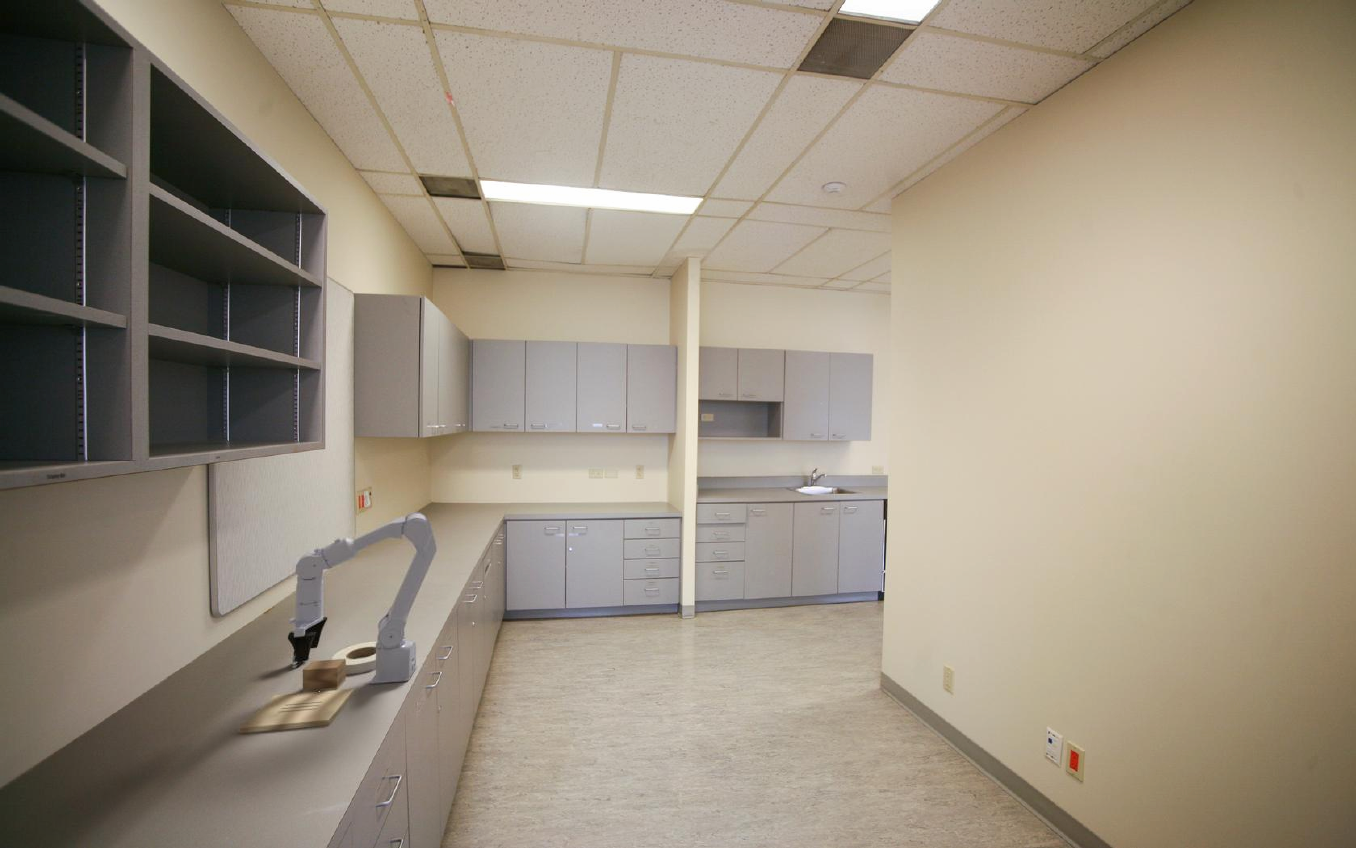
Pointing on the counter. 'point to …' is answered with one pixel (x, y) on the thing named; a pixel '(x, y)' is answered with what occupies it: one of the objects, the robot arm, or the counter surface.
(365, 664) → the roll of tape
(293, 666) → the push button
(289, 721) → the board
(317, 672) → the block
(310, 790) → the counter surface
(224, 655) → the counter surface
